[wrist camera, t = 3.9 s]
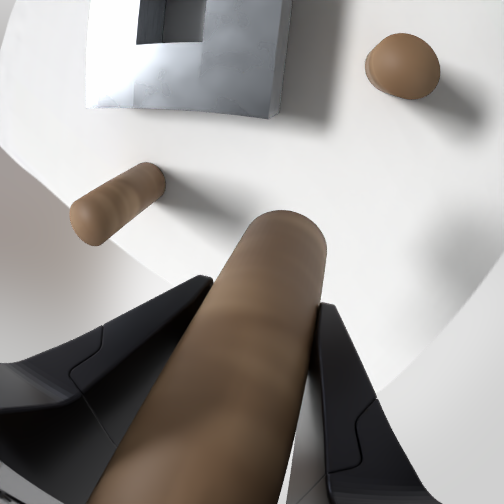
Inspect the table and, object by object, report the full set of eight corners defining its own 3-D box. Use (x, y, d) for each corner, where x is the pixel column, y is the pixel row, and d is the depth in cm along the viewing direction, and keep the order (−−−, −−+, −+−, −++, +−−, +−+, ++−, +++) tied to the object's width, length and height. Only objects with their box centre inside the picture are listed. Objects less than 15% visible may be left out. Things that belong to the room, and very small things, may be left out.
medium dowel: (165, 164, 22) (103, 203, 16) (165, 203, 23) (110, 250, 17) (130, 160, 22) (66, 196, 16) (132, 197, 24) (74, 240, 18)
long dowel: (334, 219, 10) (261, 587, 2) (317, 291, 12) (245, 579, 4) (246, 203, 11) (48, 499, 3) (241, 274, 12) (109, 530, 4)
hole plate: (299, -63, 11) (291, -83, 9) (279, 112, 18) (268, 119, 15) (126, -47, 13) (100, -55, 11) (113, 101, 20) (86, 108, 17)
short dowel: (418, 53, 14) (444, 45, 9) (411, 99, 15) (434, 108, 11) (368, 39, 14) (377, 25, 10) (361, 86, 16) (368, 89, 12)
